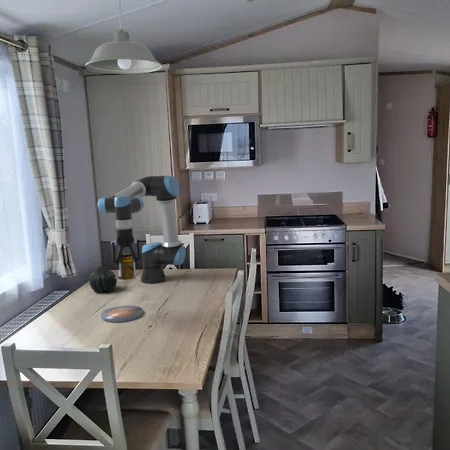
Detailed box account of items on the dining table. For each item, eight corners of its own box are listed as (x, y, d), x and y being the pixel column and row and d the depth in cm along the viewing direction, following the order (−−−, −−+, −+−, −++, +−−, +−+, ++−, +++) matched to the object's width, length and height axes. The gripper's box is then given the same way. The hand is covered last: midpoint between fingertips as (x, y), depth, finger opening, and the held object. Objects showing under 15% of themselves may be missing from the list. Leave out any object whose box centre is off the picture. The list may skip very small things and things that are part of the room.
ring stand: (98, 311, 226) (98, 309, 226) (138, 305, 234) (138, 302, 233) (104, 325, 208) (103, 322, 208) (147, 318, 215) (146, 315, 215)
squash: (111, 286, 250) (113, 262, 258) (84, 287, 250) (87, 263, 258) (117, 296, 262) (120, 273, 270) (92, 298, 262) (95, 274, 270)
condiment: (136, 278, 219) (135, 254, 217) (119, 281, 214) (118, 256, 212) (131, 275, 225) (129, 251, 223) (114, 278, 220) (113, 254, 218)
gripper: (105, 231, 209) (108, 279, 212) (145, 227, 216) (148, 274, 220) (102, 228, 216) (106, 275, 219) (142, 225, 223) (144, 270, 227)
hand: (127, 275), depth 219 cm, fingers closed on condiment, 6 cm apart
